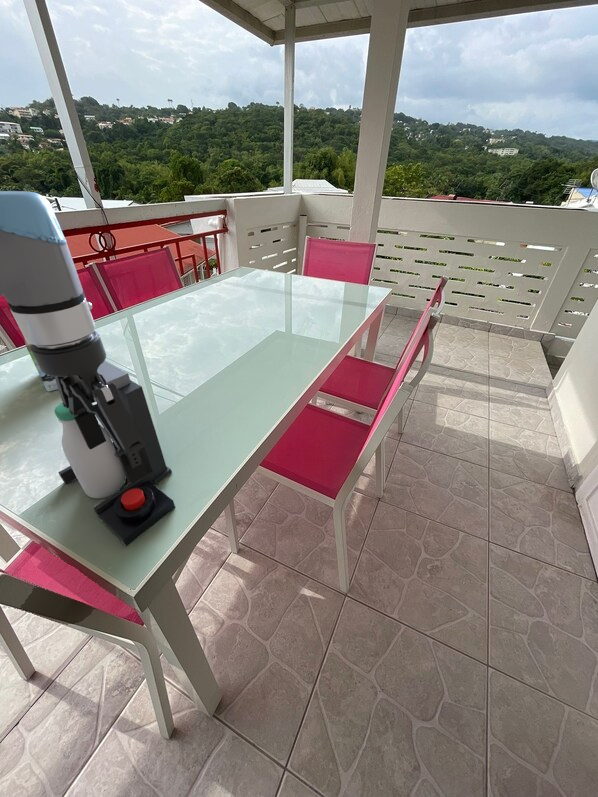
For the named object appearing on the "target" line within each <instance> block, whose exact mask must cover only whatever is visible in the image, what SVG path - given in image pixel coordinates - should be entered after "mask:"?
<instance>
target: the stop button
mask: <svg viewBox="0 0 598 797" xmlns="http://www.w3.org/2000/svg"><path fill="white" fill-rule="evenodd" d="M121 502H122V504H123V506H124V508H125V509H126V510H128V511H133V510H136V509H139V508H140V507H141V506H142V505H143V504H144V502H145V497H144V494H143V492H142V490H140V489H137V488H135V489H131V490H128V491H127V492H125V493H124V494H123V496H122V498H121Z"/></svg>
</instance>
